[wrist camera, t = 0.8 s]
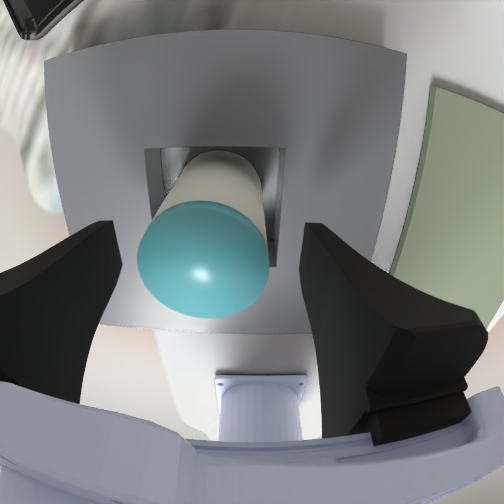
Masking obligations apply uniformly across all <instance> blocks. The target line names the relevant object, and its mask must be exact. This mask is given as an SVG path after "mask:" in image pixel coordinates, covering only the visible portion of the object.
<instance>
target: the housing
mask: <svg viewBox="0 0 504 504" xmlns="http://www.w3.org/2000/svg"><path fill="white" fill-rule="evenodd" d="M406 59H407V54H406V53H402V52H399V51H395V50H392V49H388V48H384V47H380V46H376V45H371V44H367V43H362V42H357V41H352V40H347V39H342V38H336V37H329V36H323V35H315V34H307V33H298V32H287V31H274V30H251V29H221V30H198V31H184V32H173V33H164V34H156V35H149V36H142V37H136V38H130V39H125V40H120V41H115V42H110V43H105V44H101V45H97V46H93V47H89V48H85V49H81V50H77V51H74V52H70V53H67V54H64V55H61V56H57V57H54V58H51V59H48V60H45V61H44V76H45V96H46V108H47V119H48V128H49V136H50V143H51V150H52V156H53V163H54V168H55V174H56V179H57V184H58V189H59V194H60V198H61V203H62V207H63V211H64V215H65V219H66V222H67V227H68V231H69V234H70V236H71V235H73V234H74V233H76V232H78V231H79V230H81V229H83V228H85V227H87V226H88V225H90V224H92V223H95V222H97V221H102V220H113V223H114V228H115V232H116V237H117V242H118V246H119V251H120V255H121V259H122V263H123V265H122V269H121V272H120V276H119V279H118V282H117V285H116V287H115V289H114V291H113V294H112V296H111V298H110V300H109V302H108V304H107V307H106V309H105V311H104V313H103V315H102V317H101V320H100V324H102V325H111V326H120V327H130V328H143V329H154V330H168V331H183V332H203V333H232V334H311V333H312V330H311V326H310V322H309V319H308V315H307V311H306V307H305V303H304V299H303V295H302V291H301V284H300V275H299V263H300V256H301V249H302V241H303V234H304V226H305V222H308V223H322V224H324V225H325V226H326V227H328V228H329V229H330V230H331V231H333V232H334V233H335V234H336V235H337V236H339V237H340V238H341V239H342V240H343V241H344V242H346V243H347V244H348V245H349V246H351V247H352V248H353V249H354V250H356V251H357V252H358V253H359V254H361V255H362V256H363V257H365V258H366V259H368V260H369V261H370V262H371V259H372V255H373V251H374V248H375V244H376V240H377V236H378V232H379V228H380V224H381V220H382V216H383V212H384V207H385V203H386V198H387V194H388V189H389V184H390V179H391V174H392V169H393V163H394V158H395V152H396V146H397V140H398V133H399V126H400V119H401V112H402V103H403V94H404V84H405V73H406ZM205 146H237V147H272V148H279V163H278V179H277V194H276V208H275V222H274V236H273V241H267V247H268V257H269V277H268V281H267V284H266V287H265V289H264V290H263V292H262V294H261V295H260V296H259V298H258V299H257V300H256V301H255V302H254V303H253V304H251V305H250V306H249V307H247V308H246V309H244V310H242V311H240V312H238V313H236V314H233V315H230V316H226V317H221V318H197V317H191V316H187V315H184V314H181V313H178V312H176V311H174V310H172V309H170V308H168V307H167V306H165V305H163V304H162V303H161V302H160V301H158V300H157V299H156V298H155V297H154V296H153V295H152V294H151V293H150V292H149V290H148V289H147V288H146V286H145V285H144V283H143V281H142V279H141V277H140V274H139V271H138V266H137V252H138V247H139V244H140V241H141V239H142V237H143V235H144V233H145V232H146V230H147V228H148V226H149V225H150V223H151V221H152V220H153V218H154V216H155V214H156V213H157V211H158V209H159V208H160V206H161V204H162V203H163V201H164V200H165V199H164V189H163V178H162V166H161V152H160V148H169V147H205Z"/></svg>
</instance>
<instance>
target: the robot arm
mask: <svg viewBox="0 0 504 504" xmlns="http://www.w3.org/2000/svg"><path fill="white" fill-rule="evenodd" d="M122 265H123V263H122V259H121V255H120V251H119V246H118V242H117V237H116V232H115V228H114V223H113V220H102V221H97V222H95V223H92V224H90V225H88V226H87V227H85V228H83V229H81V230H79V231H78V232H76V233H74V234H73V235H71V236H69V237H68V238H66V239H64V240H63V241H61V242H60V243H58V244H56V245H55V246H53V247H51V248H49V249H48V250H46V251H44V252H43V253H41V254H39V255H37V256H36V257H34V258H32V259H30V260H28V261H26V262H24V263H22V264H20V265H18V266H16V267H14V268H11V269H9V270H6V271H4V272H2V273H0V470H1V474H0V504H426V503H429V502H431V501H434V500H436V499H439V498H441V497H443V496H446V495H448V494H450V493H453V492H455V491H457V490H459V489H461V488H463V487H465V486H468V485H470V484H471V483H473V482H476V481H477V480H479V479H481V478H483V477H484V476H486V475H488V474H490V473H491V472H493V471H494V470H496V469H498V468H499V467H501V466H502V465H504V396H503V393H502V391H501V389H500V387H494V388H491V389H488V390H486V391H483V392H480V393H478V394H475V395H473V396H472V397H470V398H468V399H466V397H465V395H464V392H463V391H465V390H466V389H467V387H468V385H467V383H466V380H465V378H464V376H465V375H466V374H467V373H468V372H469V370H470V369H471V368H472V367H473V365H474V364H475V363H476V361H477V360H478V359H479V357H480V356H481V354H482V353H483V351H484V349H485V346H486V344H487V340H488V332H487V330H486V328H485V327H484V325H483V323H482V322H481V320H480V318H479V317H478V315H477V314H476V312H475V311H474V310H471V309H468V308H465V307H462V306H459V305H456V304H453V303H449V302H447V301H444V300H441V299H439V298H436V297H434V296H432V295H429V294H427V293H425V292H422V291H420V290H418V289H416V288H414V287H412V286H410V285H408V284H406V283H404V282H402V281H401V280H399V279H397V278H395V277H393V276H392V275H390V274H389V273H387V272H385V271H384V270H382V269H381V268H379V267H377V266H376V265H375V264H373V263H372V262H370V261H369V260H368V259H366V258H365V257H363V256H362V255H361V254H359V253H358V252H357V251H356V250H354V249H353V248H352V247H351V246H349V245H348V244H347V243H346V242H344V241H343V240H342V239H341V238H340V237H339V236H337V235H336V234H335V233H334V232H333V231H331V230H330V229H329V228H328V227H326V226H325V225H324V224H322V223H308V222H305V226H304V234H303V241H302V249H301V256H300V263H299V275H300V284H301V291H302V295H303V299H304V303H305V307H306V311H307V315H308V319H309V322H310V326H311V330H312V334H313V338H314V343H315V348H316V356H317V364H318V373H319V384H320V396H321V414H322V439H313V440H302V431H301V422H300V413H299V405H300V402H301V399H302V396H303V393H304V390H305V387H306V384H307V381H308V379H307V376H306V375H279V376H242V375H217V376H215V380H214V381H215V389H216V397H217V404H218V412H219V419H220V428H219V441H206V440H193V439H184V438H183V437H182V436H180V435H179V434H178V433H177V432H175V431H172V430H170V429H167V428H165V427H163V426H160V425H158V424H156V423H154V422H151V421H148V420H144V419H140V418H136V417H132V416H129V415H125V414H122V413H118V412H113V411H108V410H103V409H98V408H94V407H89V406H85V405H80V395H81V388H82V382H83V376H84V372H85V367H86V362H87V358H88V354H89V350H90V347H91V343H92V340H93V337H94V334H95V331H96V329H97V326H98V324H99V322H100V320H101V317H102V315H103V313H104V311H105V309H106V307H107V304H108V302H109V300H110V298H111V296H112V294H113V291H114V289H115V287H116V285H117V282H118V279H119V276H120V272H121V269H122Z"/></svg>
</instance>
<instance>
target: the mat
mask: <svg viewBox="0 0 504 504" xmlns="http://www.w3.org/2000/svg"><path fill="white" fill-rule="evenodd" d="M389 274H390V275H392V276H393V277H395V278H397V279H399V280H401V281H402V282H404V283H406V284H408V285H410V286H412V287H414V288H416V289H418V290H420V291H422V292H425V293H427V294H429V295H432V296H434V297H436V298H439V299H441V300H444V301H447V302H449V303H453V304H456V305H459V306H462V307H465V308H468V309H471V310H474V311H475V312H476V314H477V315H478V317H479V318H480V320H481V322H482V323H483V325H484V327H485V328H487V327H488V325H489V324H490V322H491V320H492V319H493V317H494V315H495V314H496V312H497V310H498V309H499V307H500V305H501V303H502V301H503V300H504V113H502V112H500V111H498V110H495V109H493V108H491V107H489V106H486V105H484V104H482V103H479V102H477V101H474V100H472V99H469V98H467V97H464V96H461V95H459V94H456V93H453V92H450V91H447V90H444V89H441V88H438V87H435V86H430V95H429V104H428V112H427V119H426V125H425V132H424V138H423V144H422V149H421V155H420V160H419V165H418V170H417V174H416V179H415V184H414V188H413V192H412V196H411V200H410V204H409V208H408V212H407V216H406V220H405V224H404V227H403V231H402V234H401V238H400V241H399V244H398V248H397V251H396V254H395V257H394V261H393V264H392V267H391V270H390V273H389Z"/></svg>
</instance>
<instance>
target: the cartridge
mask: <svg viewBox="0 0 504 504" xmlns="http://www.w3.org/2000/svg"><path fill="white" fill-rule="evenodd" d="M137 266H138V271H139V274H140V277H141V279H142V281H143V283H144V285H145V286H146V288H147V289H148V290H149V292H150V293H151V294H152V295H153V296H154V297H155V298H156V299H157V300H158V301H160V302H161V303H162V304H163V305H165V306H167V307H168V308H170V309H172V310H174V311H176V312H178V313H181V314H184V315H187V316H191V317H197V318H221V317H226V316H230V315H233V314H236V313H238V312H240V311H242V310H244V309H246V308H247V307H249V306H250V305H251V304H253V303H254V302H255V301H256V300H257V299H258V298H259V296H260V295H261V294H262V292H263V290H264V289H265V287H266V284H267V281H268V277H269V257H268V247H267V237H266V227H265V218H264V208H263V199H262V190H261V183H260V179H259V176H258V174H257V172H256V170H255V169H254V167H253V166H252V165H251V164H250V163H249V162H248V161H247V160H246V159H244V158H243V157H241V156H239V155H237V154H235V153H232V152H228V151H221V150H217V151H209V152H206V153H203V154H200V155H198V156H197V157H195V158H194V159H192V160H191V161H190V162H189V163H188V164H187V165H186V166H185V168H184V169H183V171H182V172H181V174H180V176H179V177H178V179H177V180H176V182H175V183H174V185H173V187H172V188H171V190H170V191H169V193H168V195H167V196H166V198H165V200H164V201H163V203H162V204H161V206H160V208H159V209H158V211H157V213H156V214H155V216H154V218H153V220H152V221H151V223H150V225H149V226H148V228H147V230H146V232H145V233H144V235H143V237H142V239H141V241H140V244H139V247H138V252H137Z"/></svg>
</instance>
